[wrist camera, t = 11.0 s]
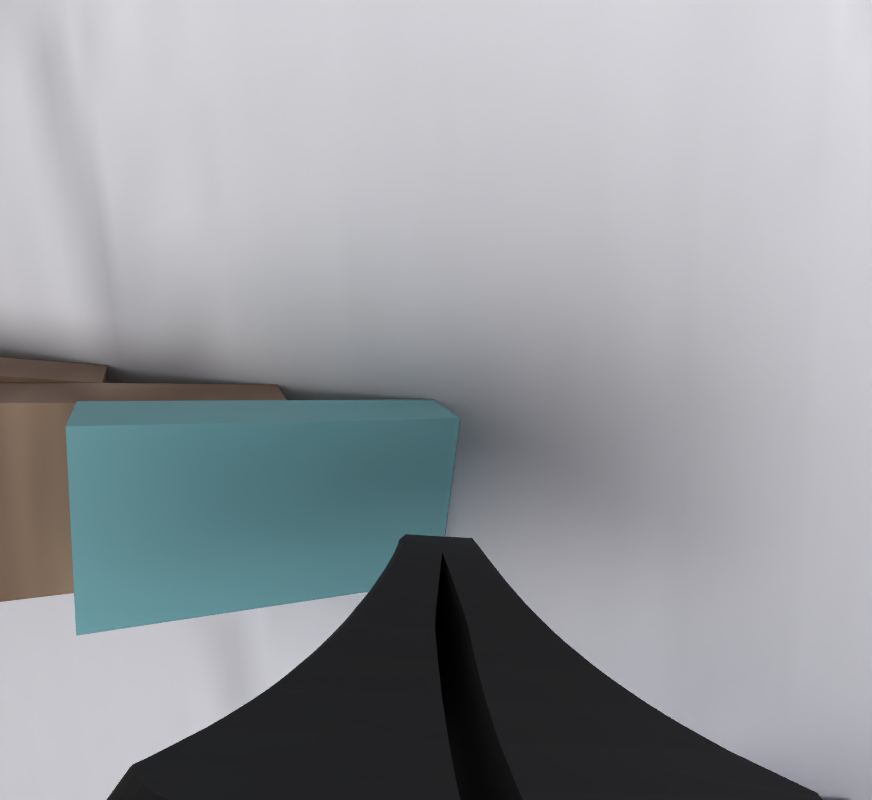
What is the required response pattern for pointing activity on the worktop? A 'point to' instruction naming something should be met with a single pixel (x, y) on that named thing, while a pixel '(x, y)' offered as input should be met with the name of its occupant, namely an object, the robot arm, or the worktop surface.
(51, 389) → the domino
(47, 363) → the domino
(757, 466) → the worktop surface
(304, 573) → the teal domino
